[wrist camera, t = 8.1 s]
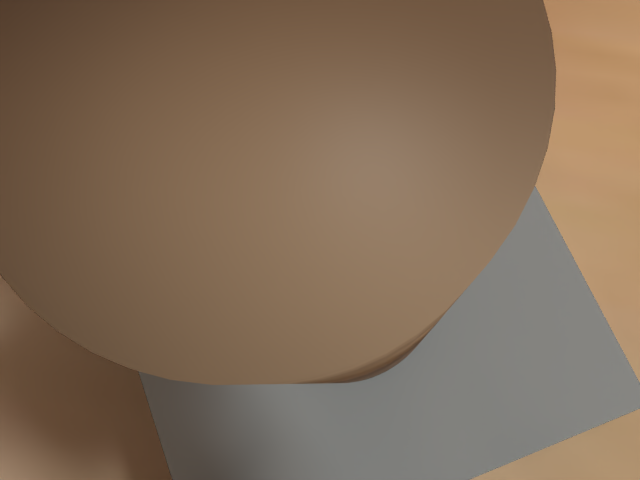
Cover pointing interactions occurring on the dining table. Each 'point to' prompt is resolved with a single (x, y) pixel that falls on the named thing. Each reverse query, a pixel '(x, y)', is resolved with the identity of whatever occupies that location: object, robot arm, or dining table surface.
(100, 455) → the dining table surface
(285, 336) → the post
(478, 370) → the tile
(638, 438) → the dining table surface
